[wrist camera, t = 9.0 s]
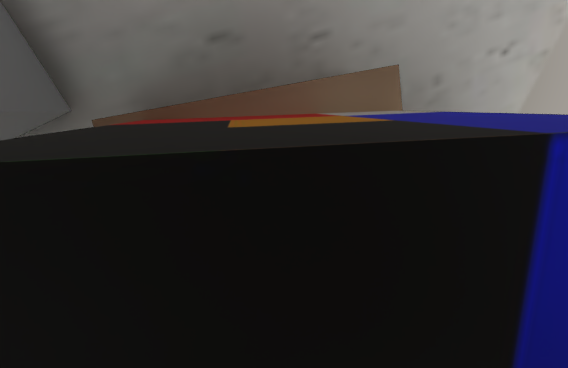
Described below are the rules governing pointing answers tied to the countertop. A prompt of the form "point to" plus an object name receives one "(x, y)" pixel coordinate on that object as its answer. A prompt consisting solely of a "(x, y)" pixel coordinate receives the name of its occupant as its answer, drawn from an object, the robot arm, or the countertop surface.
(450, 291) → the puzzle toy
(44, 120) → the slate block
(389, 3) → the countertop surface
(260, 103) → the walnut block
